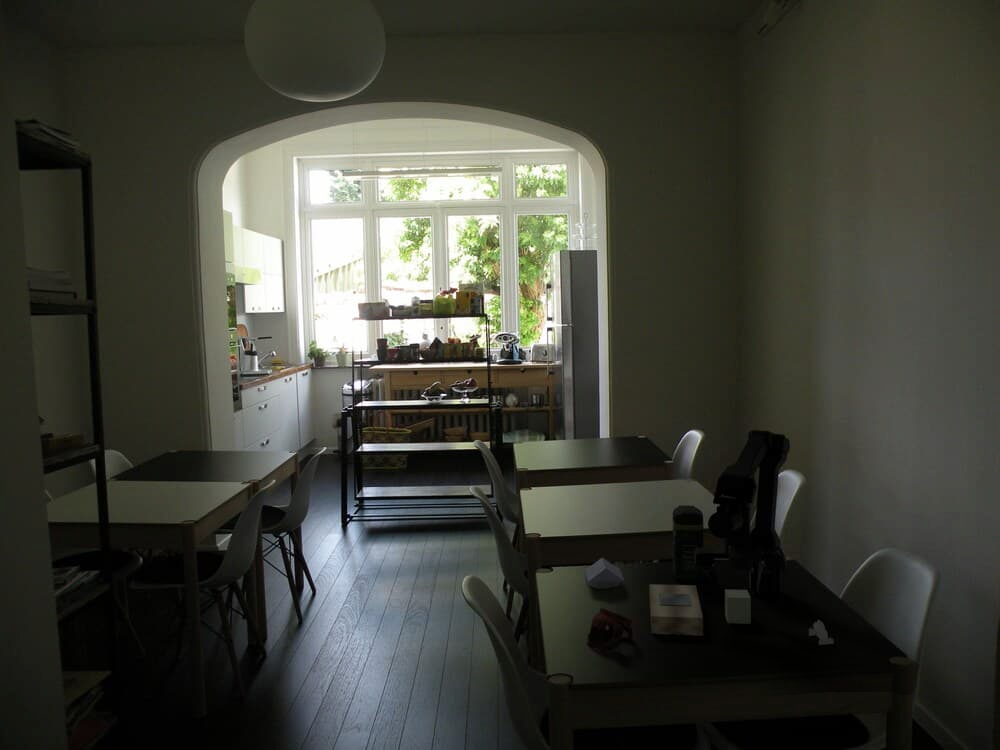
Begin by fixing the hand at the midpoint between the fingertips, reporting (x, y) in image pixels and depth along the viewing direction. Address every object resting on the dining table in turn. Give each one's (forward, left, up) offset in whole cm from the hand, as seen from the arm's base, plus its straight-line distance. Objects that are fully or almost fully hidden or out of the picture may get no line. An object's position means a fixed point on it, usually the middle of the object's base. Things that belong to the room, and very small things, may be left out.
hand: (737, 594), depth 181 cm
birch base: (+14, 0, -6) cm, 15 cm away
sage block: (0, 0, -6) cm, 6 cm away
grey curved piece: (-15, +6, -6) cm, 17 cm away
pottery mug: (+28, +16, -6) cm, 33 cm away
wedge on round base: (+31, -20, -6) cm, 37 cm away
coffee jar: (+9, -28, -6) cm, 30 cm away
